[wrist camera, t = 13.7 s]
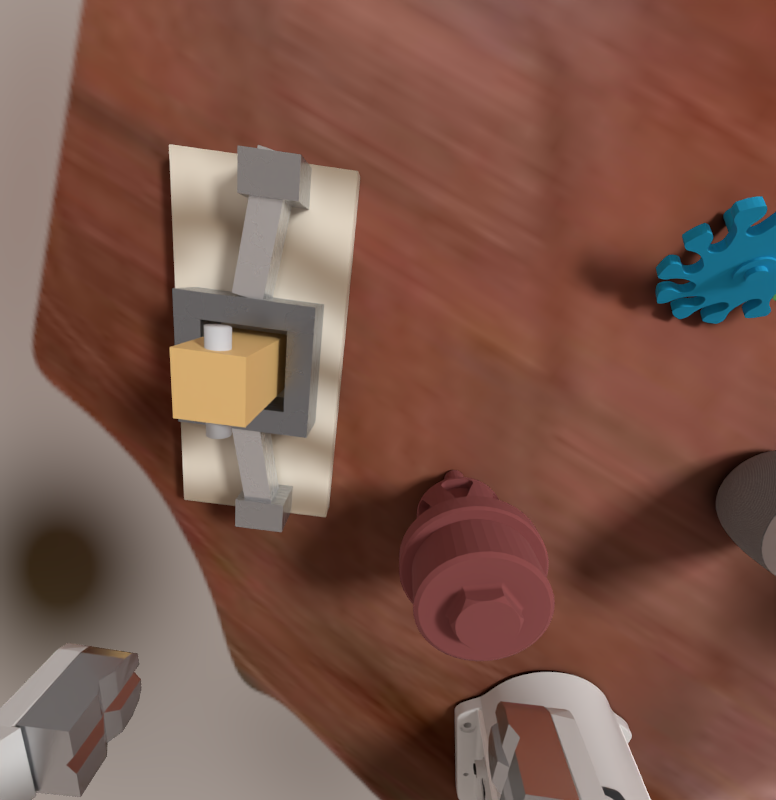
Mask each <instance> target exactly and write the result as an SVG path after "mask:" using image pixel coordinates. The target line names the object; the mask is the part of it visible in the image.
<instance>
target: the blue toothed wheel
mask: <svg viewBox="0 0 776 800" xmlns="http://www.w3.org/2000/svg"><path fill="white" fill-rule="evenodd" d="M766 212H767V206H766V204H765V202H764V199H763V197H762V196H761V197H751V198H747V199H744V200H740V201H737V202H735V203H734V204H733V206H732V207H731V208H730V209H729V210H727V211H726V212H725V213H724V215H723V218H724V221H725V223H726V226H727V229H728V232H729V233H728V234H727V236H726V237H725V238H724V239H723V240H722V241H720V242H718V243H715V244H711V242H712V240H713V234H712V231H711V228H710V226H709V225H708V224H707V223H703V224H700V225H698V226H696V227H694V228H692V229H690V230H689V231H687V232H686V233H684V234H683V235H682V238H683V242H684V246H685V248H686V250H688V251H693V252H696V253H698V254H699V255H700V256H701V259H700V260H699V261H698V262H696V263H694V264H691V265H683V264H682V263H681V260H680V257H679V256H677V255H668V256H667V257H665V258H664V259H663V260H662V261H661V262H660V263H659V264H658V266H657V267H656V271H657V276H658V278H660V279H663V280H666V279H675V278H679V279H686V280H689V281H690V282H688V283H686V284H676V283H674V282H671V281H663V282H660V283H658V284H657V286H656V290H655V293H656V299H657V303H660V304H661V303H667V302H670V301H672V300H674V301H672V302H671V303H670V304H671V309H672V313H673V315H674V316H675V317H676V318H678V319H683V318H686V317H688V316H690V315H691V314H692V313H694V312H695V311H697V310H699V309H701V308H703V307H704V308H703V309H701V311H700V314H701V317H702V321H704V322H707V323H715V324H717V323H720V322H722V321H723V320H724V319H725V318H726V316H727V315H728V313H729V312H730V311H731V310H733V309H734V308H735V307H737V306H739V305H740V304H742V303H744V302H745V303H744V304H743V305H742V310H743V313H744V316H745V318H755V317H762V316H766V315H768V314H769V313H770V312H771V308H770V306H769V302H770V300H771V299H772V298H773V300H775V301H776V212H775V213H774V214H772V215H771V216H770V217H768V218H767V219H765V220H764V221H762V222H761V223H759V224H757V225H755V226H752V227H750V226H751V225H752V224H754V223H755V222H757V221H758V220H760V219H761V218H762V217H763V216H764V215H765V214H766ZM690 296H697V297H693V298H683V297H690ZM678 298H680V299H678ZM675 299H676V300H675ZM746 301H747V302H746Z"/></svg>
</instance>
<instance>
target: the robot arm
mask: <svg viewBox="0 0 776 800" xmlns="http://www.w3.org/2000/svg"><path fill="white" fill-rule="evenodd" d="M138 665H139V660H138V654H137V653H131V652H125V651H118V650H111V649H105V648H99V647H92V646H87V645H79V644H72V643H67V644H65V645H64V646H62V647H61V648H59V649H57V650H56V651H55V652H54V653H53V654H52V656H50V657H49V658H48V660H47V661H46V662H45V663H44V664H43V665H42V666H41V667H40V668H39V669H38V670H37V671H36V672H35V673H34V674H33V675H32V676H31V677H30V678H29V679H28V680H27V681H26V682H25V683H24V684H23V685H22V686H21V687H20V688H19V690H17V691H16V693H15V694H14V695H13V696H12V697H11V698H10V699H9V700H8V701H7V702H6V703H5V704H4V705H3V706H2V707H1V708H0V800H32V799H33V798H34V797H35V796H36V793H45V794H55V795H66V796H75V797H81V796H82V794H83V793H84V791H85V789H86V788H87V786H88V785H89V783H90V782H91V780H92V778H93V777H94V775H95V774H96V772H97V771H98V769H99V768H100V766H101V765H102V763H103V761H104V760H105V758H106V757H107V743H108V742H109V741H110V740H112V739H113V738H115V737H116V736H117V735H118V734H120V733H121V732H123V730H124V729H125V727H126V725H127V724H128V722H129V720H130V719H131V717H132V716H133V713H134V711H135V708H136V706H137V704H138V701H139V698H140V693H141V679H140V678H139V677H138V676H137V675H136V673H135V672H134V671H135V670H136V668H137V667H138ZM631 738H632V734H631V732H630V729H629V727H628V724H627V723H626V722H625V721H624V720H623V719H622V718H621V717H619V716H618V715H617V714H615V713H614V712H613V711H612V709H611V708H610V705H609V703H608V701H607V699H606V697H605V695H604V694H603V693H602V692H601V691H600V690H599V689H598V688H597V687H596V686H595V685H593V684H592V683H590V682H589V681H587V680H585V679H582V678H580V677H577V676H574V675H570V674H566V673H559V672H537V673H530V674H525V675H521V676H518V677H515V678H512V679H510V680H507V681H505V682H503V683H501V684H499V685H498V686H496V687H495V688H493V689H492V690H490V691H489V692H488V693H486V694H485V695H483V696H481V697H478V698H474V699H471V700H468V701H465V702H462V703H460V704H459V705H457V706H456V708H455V775H456V790H457V795H458V798H459V799H460V800H651V799H650V797H649V794H648V792H647V790H646V787H645V785H644V782H643V780H642V777H641V775H640V772H639V770H638V768H637V765H636V763H635V760H634V758H633V756H632V753H631V751H630V748H629V746H628V742H629V741H630V740H631Z"/></svg>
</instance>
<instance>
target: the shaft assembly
mask: <svg viewBox="0 0 776 800" xmlns="http://www.w3.org/2000/svg"><path fill="white" fill-rule="evenodd" d="M311 171H312V168H311V167H310V165H309V164H308V163H307V162H306V160H305V159H304V158H303V156H302V155H300V154H293V153H286V152H279V151H274V150H271V149H268V148H265V147H263V146H260V145H258V148H251V147H244V146H238V156H237V193H239V194H240V195H242V196H244V197H246V198H248V204H247V210H246V215H245V221H244V227H243V232H242V238H241V244H240V249H239V255H238V260H237V266H236V272H235V277H234V283H233V289H232V292H230V291H222V290H215V289H208V288H200V287H186V288H172V294H173V316H174V338H175V345H178V344H181V343H184V342H187V341H191V340H194V339H197V338H200V337H204V325H205V324H221V322H224V323H231V324H239V325H246V326H254V327H261V328H269V329H276V330H284V331H287V349H286V370H285V391H284V397H275V398H274V399H273V400H272V401H271V402H270V403H269V404H268V405H267V406H266V407H265V408H264V409H263V410H262V411H261V412H260V413H259V414H258V415H257V416H256V417H255V418H254V419H253V420H252V421H251V422H250V423H249V424H248V425H247V426H246V427H237V426H232V433H233V438H234V444H235V449H236V454H237V460H238V465H239V471H240V476H241V481H242V487H243V490H242V491H241V493H240V494H239V495H238V497H237V498H236V500H235V526H236V527H244V528H252V529H260V530H268V531H276V532H282V530H283V528H284V526H285V524H286V522H287V519H288V517H289V515H290V513H291V508H292V491H293V486H288V485H280V484H278V478H277V471H276V465H275V458H274V451H273V445H272V438H271V433H272V434H280V435H288V436H295V437H303V438H307V436H308V434H309V433H310V431H311V429H312V427H313V426H314V424H315V420H316V407H317V393H318V380H319V367H320V354H321V341H322V328H323V314H324V304H318V303H311V302H303V301H296V300H289V299H281V298H274V297H273V294H274V290H275V285H276V280H277V275H278V271H279V266H280V261H281V257H282V252H283V247H284V242H285V238H286V233H287V228H288V223H289V219H290V214H291V209H292V207H295V208H302V209H309V205H310V188H311ZM178 421H179V422H187V423H194V424H202V425H206V422H198V421H191V420H183V419H178Z"/></svg>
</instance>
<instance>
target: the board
mask: <svg viewBox="0 0 776 800" xmlns="http://www.w3.org/2000/svg"><path fill="white" fill-rule="evenodd" d="M169 156H170V180H171V203H172V227H173V250H174V273H175V288H186V287H200V288H208V289H215V290H222V291H230V292H232V289H233V283H234V277H235V272H236V266H237V260H238V255H239V249H240V244H241V238H242V232H243V227H244V221H245V215H246V210H247V204H248V198H246V197H244V196H242V195H240V194H239V193H237V156H238V154H234V153H227V152H220V151H213V150H206V149H199V148H192V147H185V146H178V145H171V144H169ZM309 165H310V167H311V168H312V171H311V188H310V205H309V209H302V208H295V207H292V209H291V214H290V219H289V223H288V228H287V233H286V238H285V242H284V247H283V252H282V257H281V261H280V266H279V271H278V275H277V280H276V285H275V290H274V294H273V297H274V298H281V299H289V300H296V301H303V302H311V303H318V304H324V314H323V328H322V341H321V354H320V367H319V380H318V393H317V407H316V420H315V424H314V426H313V427H312V429H311V431H310V433H309V434H308V436H307V438H303V437H295V436H288V435H280V434H272V433H271V438H272V445H273V451H274V458H275V465H276V471H277V478H278V484H280V485H288V486H293V491H292V508H291V513H296V514H304V515H312V516H320V517H326V515H327V512H328V508H329V501H330V490H331V480H332V469H333V459H334V448H335V438H336V427H337V417H338V406H339V395H340V385H341V374H342V364H343V353H344V343H345V332H346V322H347V311H348V301H349V290H350V280H351V269H352V259H353V248H354V238H355V227H356V217H357V206H358V196H359V185H360V175H359V172H358V171H354V170H347V169H340V168H333V167H326V166H319V165H312V164H309ZM221 324H222V325H228V326H231V327H232V328H240V329H248V330H255V331H263V332H270V333H278V334H285V335H287V331H284V330H276V329H269V328H261V327H254V326H246V325H239V324H231V323H224V322H221ZM284 391H285V388H284V389H283V390H282V391H281V392H280V393H279V394H278V395H277V396H276V397H284ZM181 437H182V461H183V484H184V500H192V501H200V502H208V503H216V504H224V505H232V506H235V500H236V498H237V497H238V495H239V494H240V493H241V491H242V490H243V487H242V481H241V476H240V471H239V465H238V460H237V454H236V449H235V444H234V438H233V433H232V435H231V436H230V437H228V438H224V439H211V438H208V437H207V436H206V425H202V424H194V423H187V422H181Z"/></svg>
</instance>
